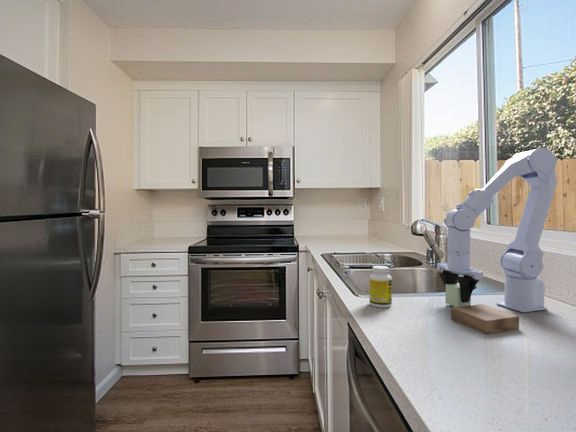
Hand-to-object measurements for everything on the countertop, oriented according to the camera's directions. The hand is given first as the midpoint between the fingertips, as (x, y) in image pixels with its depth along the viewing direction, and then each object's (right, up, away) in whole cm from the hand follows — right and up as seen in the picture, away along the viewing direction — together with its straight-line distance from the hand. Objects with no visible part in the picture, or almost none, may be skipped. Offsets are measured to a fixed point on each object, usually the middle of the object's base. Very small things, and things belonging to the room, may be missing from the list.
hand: (457, 299), depth 95 cm
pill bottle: (-22, -2, +1) cm, 22 cm away
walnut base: (-1, -3, -14) cm, 14 cm away
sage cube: (0, -2, 0) cm, 2 cm away
